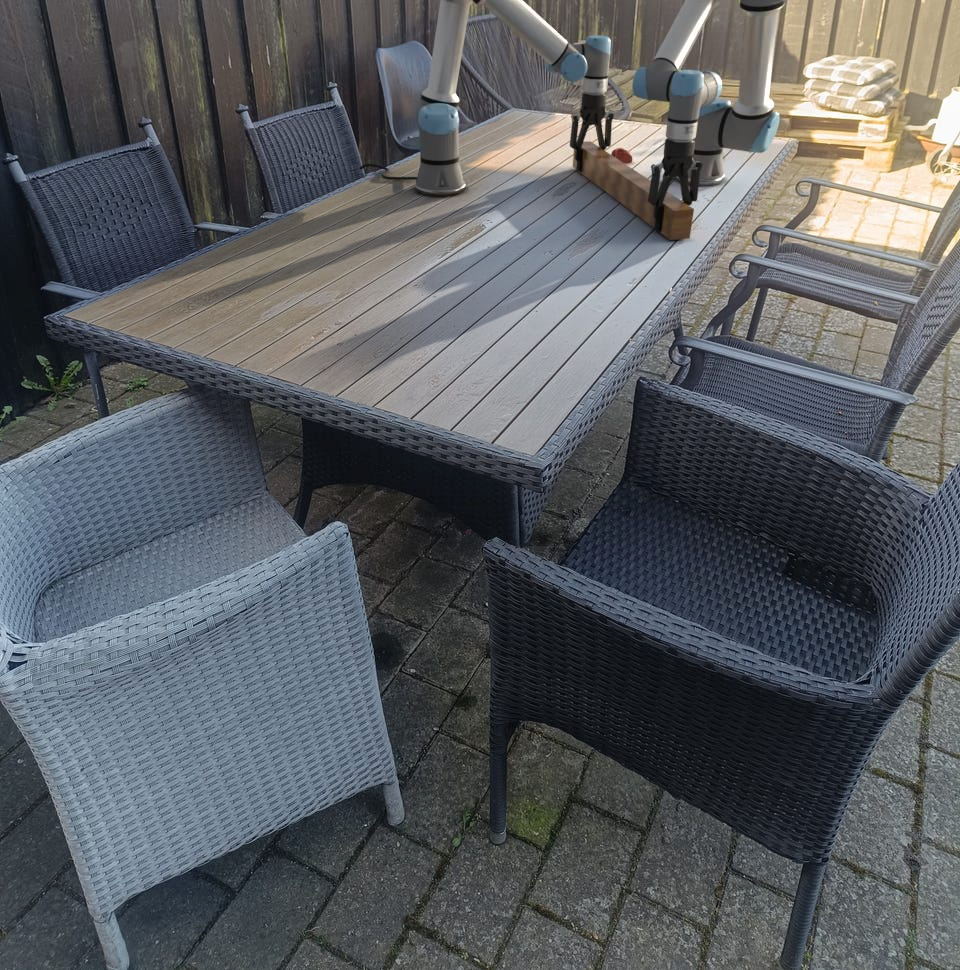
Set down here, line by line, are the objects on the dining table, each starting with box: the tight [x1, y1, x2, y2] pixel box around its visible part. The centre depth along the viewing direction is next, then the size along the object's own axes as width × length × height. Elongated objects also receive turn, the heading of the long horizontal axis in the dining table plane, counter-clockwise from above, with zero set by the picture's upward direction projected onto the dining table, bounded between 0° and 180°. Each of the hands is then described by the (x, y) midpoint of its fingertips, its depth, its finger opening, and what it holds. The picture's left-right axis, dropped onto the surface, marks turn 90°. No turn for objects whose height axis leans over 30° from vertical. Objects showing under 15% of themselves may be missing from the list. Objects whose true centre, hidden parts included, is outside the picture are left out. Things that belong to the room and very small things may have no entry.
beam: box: [572, 140, 695, 241], centre depth 248 cm, size 73×6×8 cm, turn 16°
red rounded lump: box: [610, 147, 633, 164], centre depth 283 cm, size 6×4×8 cm
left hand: (588, 170), depth 273 cm, fingers closed on beam, 6 cm apart
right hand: (668, 228), depth 226 cm, fingers closed on beam, 6 cm apart
